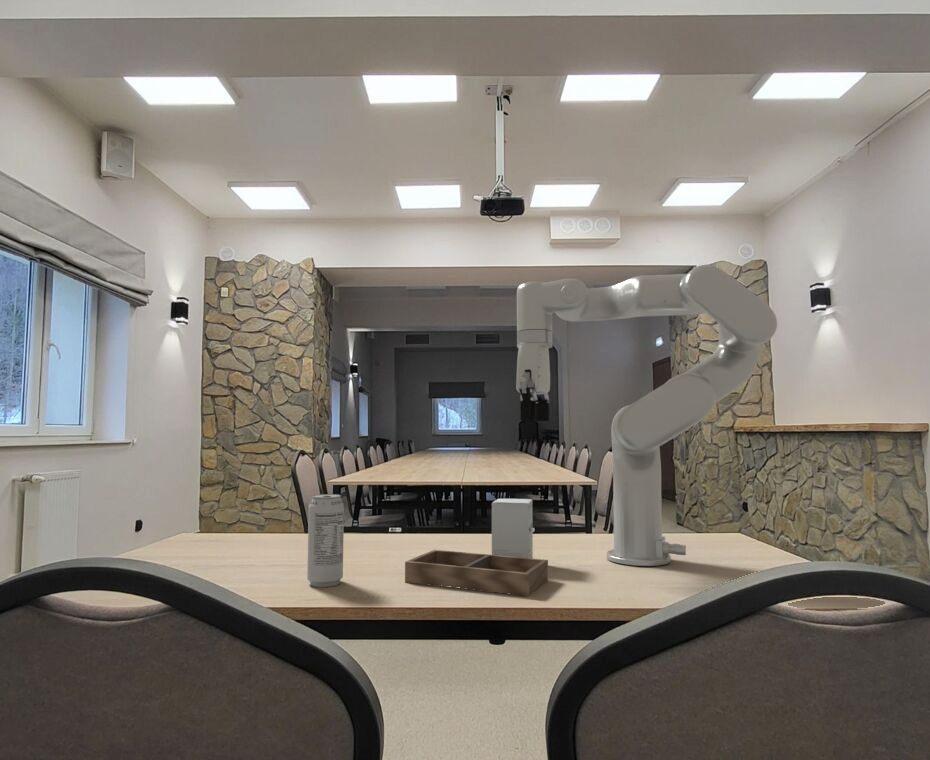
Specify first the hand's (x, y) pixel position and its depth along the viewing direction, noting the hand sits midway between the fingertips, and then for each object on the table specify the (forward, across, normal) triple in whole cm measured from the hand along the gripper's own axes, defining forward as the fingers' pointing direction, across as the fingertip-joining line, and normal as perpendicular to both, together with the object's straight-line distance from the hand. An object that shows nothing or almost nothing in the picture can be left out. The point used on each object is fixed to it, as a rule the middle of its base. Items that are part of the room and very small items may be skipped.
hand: (535, 420), depth 132 cm
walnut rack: (+28, +24, -4) cm, 37 cm away
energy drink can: (+28, +36, -27) cm, 53 cm away
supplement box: (+28, +10, -2) cm, 30 cm away
